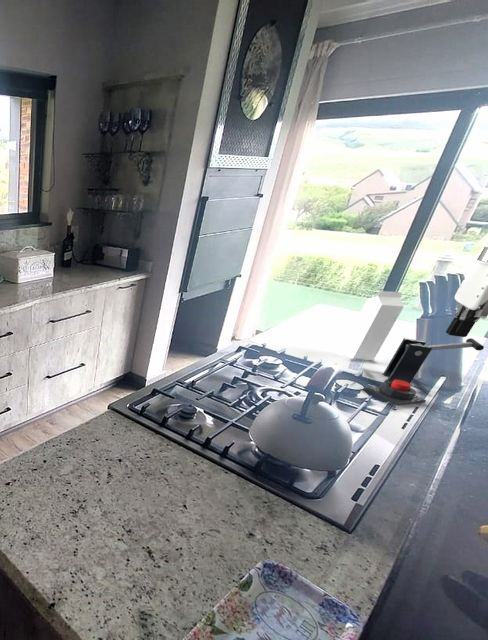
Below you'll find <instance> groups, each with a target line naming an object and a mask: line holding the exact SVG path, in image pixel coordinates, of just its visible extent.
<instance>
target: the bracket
mask: <svg viewBox="0 0 488 640" xmlns="http://www.w3.org/2000/svg"><path fill="white" fill-rule="evenodd" d="M415 343H421V344H422V345H423V346H422V345H416V344H415ZM406 344H409V345H408V347H407V348H406ZM426 344H427V342H426V341H425V340H424V341H423V340H419V339H418V340H417V339H411V338H405V337H403V339H402V340H401V342H400V344H399V346H398V348H397V349H396V351H395V353H394V354H393V356H392V358H391V359H390V361H389V363H388V364H387V366H386V368H385V370H384V372H383V373H382V375H383V376H384V377H388V378H387V380H386V382H387V381H391V382H393V381H394V380H402V381H405V382H408V383H409V384H411V383H412V381H413V380H414V378H415V376H416V375H417V373H418V372H419V370H420V369H421V367H422V365H423V364H424V362H425V361H426V360H427V357H428V355H430V353H431V351H433V350H432V348H431V347H428V346H429V345H426Z"/></svg>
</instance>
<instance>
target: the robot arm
mask: <svg viewBox="0 0 488 640" xmlns="http://www.w3.org/2000/svg"><path fill="white" fill-rule="evenodd" d="M474 262H475V264H474V265H473V266H472V267H471V269H470V270H469V272H468V273H467V275H466V276H465V277H464V279H463V280H462V282H461V283H460V285H459V287H458V289H457V291H456V292H455V295H454V300H455V301H456V306H457V309H456V312H455V313H454V317H453V318H452V320H451V322H450V324H449V326H447V329H446V330H445V333H446V334H447V335H449V336H451V337H452V336H453V337H459V338H466V337H468V335H469V333H471V330H472V328H473V327H474V325H475V324H476V323H477V322H479V320H480V319H486V318H487V317H488V238H487V239H486V240H485V242H484V244H483V245H482V247H481V249H480V250H479V253H478V254H477V256H476V257H475V260H474Z"/></svg>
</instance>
